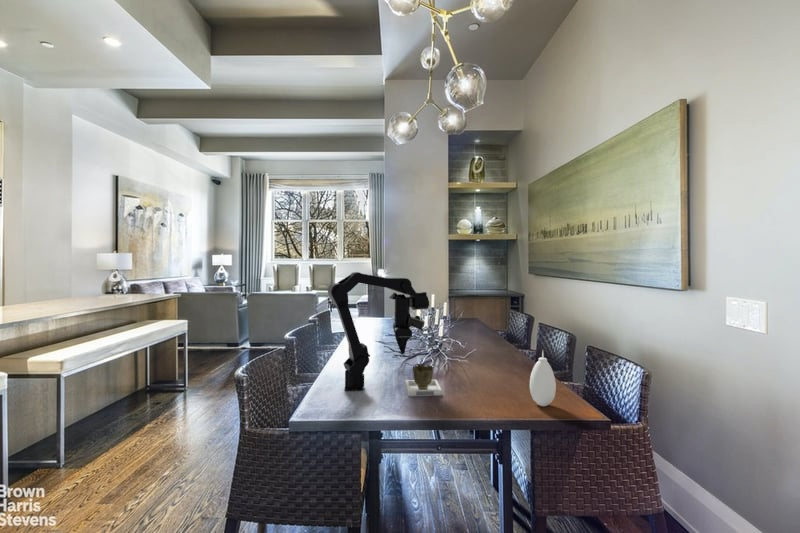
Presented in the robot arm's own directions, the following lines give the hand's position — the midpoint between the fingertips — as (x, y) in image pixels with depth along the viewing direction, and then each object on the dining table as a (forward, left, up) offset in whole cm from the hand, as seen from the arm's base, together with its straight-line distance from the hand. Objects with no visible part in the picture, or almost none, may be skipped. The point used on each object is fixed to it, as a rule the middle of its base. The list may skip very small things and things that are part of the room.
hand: (402, 350), depth 147 cm
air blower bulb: (+44, -26, -12) cm, 52 cm away
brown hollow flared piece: (+7, -10, -12) cm, 17 cm away
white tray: (+7, -10, -12) cm, 17 cm away
